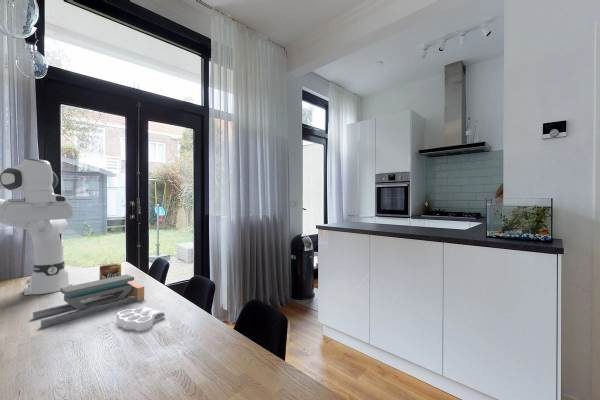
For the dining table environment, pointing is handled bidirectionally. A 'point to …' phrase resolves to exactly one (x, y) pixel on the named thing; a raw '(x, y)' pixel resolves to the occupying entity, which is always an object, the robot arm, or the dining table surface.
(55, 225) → the robot arm
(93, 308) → the guide track
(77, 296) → the sharpening stone
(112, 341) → the dining table surface
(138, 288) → the end stop
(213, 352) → the dining table surface
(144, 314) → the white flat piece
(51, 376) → the dining table surface
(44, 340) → the dining table surface
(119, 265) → the candy box
